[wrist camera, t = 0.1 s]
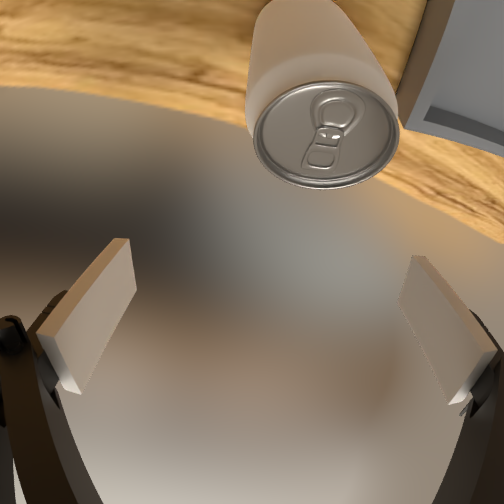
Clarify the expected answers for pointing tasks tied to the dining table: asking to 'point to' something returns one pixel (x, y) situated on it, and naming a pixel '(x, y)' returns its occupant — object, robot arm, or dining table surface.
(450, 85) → the tray
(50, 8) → the dining table surface
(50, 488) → the robot arm
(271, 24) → the can
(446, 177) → the dining table surface
